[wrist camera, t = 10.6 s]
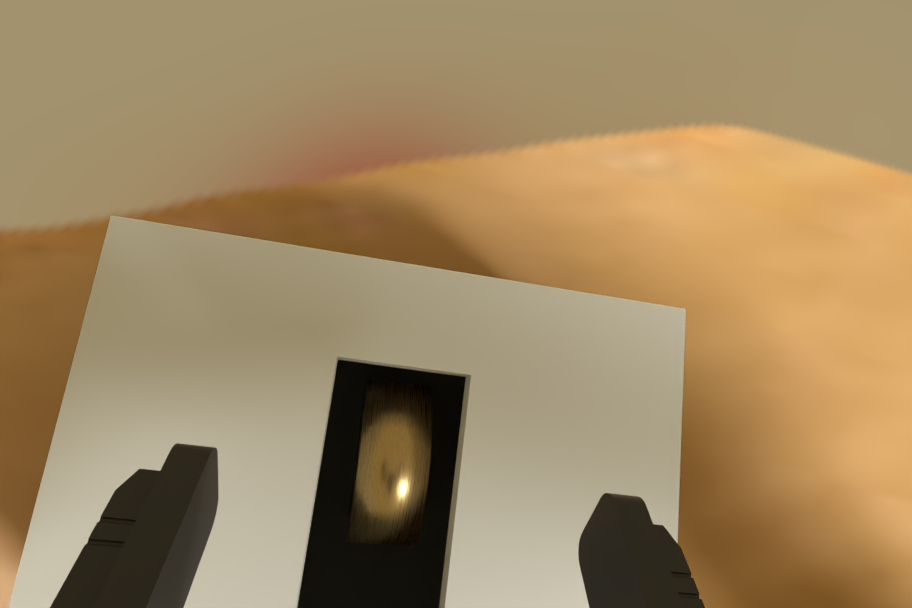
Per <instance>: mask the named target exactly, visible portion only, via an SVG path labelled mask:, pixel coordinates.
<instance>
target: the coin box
mask: <svg viewBox="0 0 912 608" xmlns="http://www.w3.org/2000/svg"><path fill="white" fill-rule="evenodd" d="M685 321H686V309H684V308H678V307H672V306H666V305H660V304H654V303H648V302H641V301H635V300H629V299H623V298H617V297H611V296H605V295H599V294H592V293H586V292H580V291H574V290H568V289H562V288H556V287H550V286H543V285H537V284H531V283H525V282H519V281H513V280H507V279H501V278H494V277H488V276H482V275H476V274H470V273H464V272H458V271H451V270H445V269H439V268H433V267H427V266H421V265H415V264H409V263H402V262H396V261H390V260H384V259H378V258H372V257H366V256H360V255H353V254H347V253H341V252H335V251H329V250H323V249H317V248H310V247H304V246H298V245H292V244H286V243H280V242H274V241H268V240H261V239H255V238H249V237H243V236H237V235H231V234H225V233H219V232H212V231H206V230H200V229H194V228H188V227H182V226H176V225H169V224H163V223H157V222H151V221H145V220H139V219H133V218H127V217H120V216H114V215H111V217H110V221H109V224H108V228H107V232H106V236H105V240H104V244H103V247H102V251H101V255H100V259H99V263H98V266H97V270H96V274H95V278H94V282H93V286H92V289H91V293H90V297H89V301H88V305H87V308H86V312H85V316H84V320H83V324H82V328H81V331H80V335H79V339H78V343H77V347H76V350H75V354H74V358H73V362H72V366H71V370H70V373H69V377H68V381H67V385H66V389H65V392H64V396H63V400H62V404H61V408H60V412H59V415H58V419H57V423H56V427H55V431H54V435H53V438H52V442H51V446H50V450H49V454H48V457H47V461H46V465H45V469H44V473H43V477H42V480H41V484H40V488H39V492H38V496H37V499H36V503H35V507H34V511H33V515H32V519H31V522H30V526H29V530H28V534H27V538H26V541H25V545H24V549H23V553H22V557H21V561H20V564H19V568H18V572H17V576H16V580H15V583H14V587H13V591H12V595H11V599H10V603H9V606H8V608H50V607H51V605H52V603H53V601H54V599H55V598H56V596H57V594H58V592H59V590H60V589H61V587H62V585H63V583H64V581H65V580H66V578H67V576H68V574H69V572H70V571H71V569H72V567H73V565H74V563H75V562H76V560H77V558H78V556H79V554H80V553H81V551H82V549H83V547H84V545H85V544H87V543H88V538H89V536H90V535H91V533H92V531H93V529H94V527H95V526H96V524H97V522H99V521H100V517H101V515H102V513H103V511H104V509H105V508H106V506H107V504H108V502H109V500H110V499H111V497H112V495H113V493H114V491H115V490H116V489H117V488H118V487H119V486H120V485H122V484H123V483H124V482H125V481H126V480H127V479H128V478H130V477H131V476H132V475H133V474H134V473H135V472H136V471H137V470H139V469H148V470H158V471H160V470H161V468H162V466H163V464H164V462H165V460H166V458H167V456H168V454H169V452H170V450H171V449H172V447H173V446H174V445H175V444H176V443H180V444H189V445H198V446H207V447H215V448H217V452H218V506H217V511H216V516H215V520H214V524H213V527H212V530H211V533H210V535H209V538H208V541H207V544H206V547H205V549H204V552H203V555H202V558H201V560H200V563H199V566H198V569H197V571H196V574H195V577H194V580H193V583H192V585H191V588H190V591H189V594H188V596H187V599H186V602H185V605H184V607H183V608H589V604H588V600H587V595H586V591H585V587H584V582H583V578H582V574H581V569H580V565H579V557H578V548H579V540H580V537H581V534H582V532H583V530H584V528H585V526H586V524H587V522H588V521H589V519H590V517H591V515H592V513H593V511H594V509H595V507H596V506H597V504H598V502H599V500H600V498H601V496H602V495H603V494H605V493H612V494H621V495H630V496H638V497H640V498H642V499H643V500H644V502H645V504H646V506H647V509H648V512H649V514H650V517H651V520H652V522H653V524H656V525H663V526H664V527H665V528H666V529H667V531H668V532H669V533H670V535H671V536H672V537H673V538H674V540H675V541H676V542H677V543H678V515H679V487H680V460H681V432H682V404H683V376H684V348H685ZM367 379H369V380H379V381H388V382H398V383H408V384H417V385H427V386H429V387H430V390H431V395H432V443H431V458H430V469H429V478H428V487H427V495H426V502H425V508H424V514H423V519H422V524H421V529H420V533H419V536H418V539H417V542H416V544H415V545H414V546H402V545H386V544H369V543H353V542H347V537H348V518H349V509H350V501H351V493H352V485H353V477H354V469H355V461H356V453H357V445H358V437H359V428H360V420H361V412H362V404H363V396H364V388H365V384H366V381H367Z"/></svg>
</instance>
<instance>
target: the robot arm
mask: <svg viewBox="0 0 912 608" xmlns="http://www.w3.org/2000/svg"><path fill="white" fill-rule="evenodd" d="M217 506H218V452H217V448H215V447H207V446H198V445H189V444H180V443H176V444H175V445H174V446H173V447H172V449H171V450H170V452H169V454H168V456H167V458H166V460H165V462H164V464H163V466H162V468H161V470H160V471H158V470H148V469H139V470H137V471H136V472H135V473H134V474H133V475H132V476H131V477H130V478H128V479H127V480H126V481H125V482H124V483H123V484H122V485H120V486H119V487H118V488H117V489H116V490H115V491H114V493H113V495H112V497H111V499H110V500H109V502H108V504H107V506H106V508H105V509H104V511H103V513H102V515H101V517H100V521H99V522H97V524H96V526H95V527H94V529H93V531H92V533H91V535H90V536H89V538H88V543H87V544H85V545H84V547H83V549H82V551H81V553H80V554H79V556H78V558H77V560H76V562H75V563H74V565H73V567H72V569H71V571H70V572H69V574H68V576H67V578H66V580H65V581H64V583H63V585H62V587H61V589H60V590H59V592H58V594H57V596H56V598H55V599H54V601H53V603H52V605H51V607H50V608H183V607H184V605H185V602H186V599H187V596H188V594H189V591H190V588H191V585H192V583H193V580H194V577H195V574H196V571H197V569H198V566H199V563H200V560H201V558H202V555H203V552H204V549H205V547H206V544H207V541H208V538H209V535H210V533H211V530H212V527H213V524H214V520H215V516H216V511H217ZM578 557H579V565H580V569H581V574H582V578H583V582H584V587H585V591H586V595H587V600H588V604H589V608H705V607H704V604H703V602H702V599H699V592H698V589H697V587H696V584H695V582H694V579H693V578H691V572H690V569H689V567H688V564H687V562H686V559H685V557H684V554H683V552H682V549H681V548H680V546H679V545H678V544H677V542H676V541H675V540H674V538H673V537H672V536H671V535H670V533H669V532H668V531H667V529H666V528H665V527H664V526H663V525H656V524H653V522H652V520H651V517H650V514H649V512H648V509H647V506H646V504H645V502H644V500H643V499H642V498H640V497H638V496H630V495H621V494H612V493H605V494H603V495H602V496H601V498H600V500H599V502H598V504H597V506H596V507H595V509H594V511H593V513H592V515H591V517H590V519H589V521H588V522H587V524H586V526H585V528H584V530H583V532H582V534H581V537H580V540H579V548H578Z"/></svg>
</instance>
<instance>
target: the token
mask: <svg viewBox="0 0 912 608" xmlns="http://www.w3.org/2000/svg"><path fill="white" fill-rule="evenodd" d="M431 443H432V395H431V390H430V387H429V386H427V385H417V384H408V383H398V382H388V381H379V380H369V379H367V381H366V384H365V388H364V396H363V404H362V412H361V420H360V428H359V437H358V445H357V453H356V461H355V469H354V477H353V485H352V493H351V501H350V509H349V518H348V537H347V542H353V543H369V544H386V545H402V546H414V545H415V544H416V542H417V539H418V536H419V533H420V529H421V524H422V519H423V514H424V508H425V502H426V495H427V487H428V478H429V469H430V458H431Z"/></svg>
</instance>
